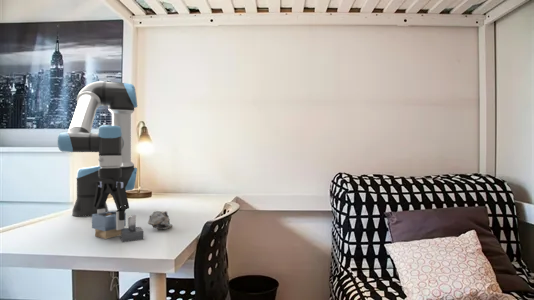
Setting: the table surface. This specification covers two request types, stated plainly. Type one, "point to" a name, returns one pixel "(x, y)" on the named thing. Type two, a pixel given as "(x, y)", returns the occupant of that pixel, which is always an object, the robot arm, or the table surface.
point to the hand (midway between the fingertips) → (110, 227)
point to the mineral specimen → (159, 220)
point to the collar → (105, 221)
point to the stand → (107, 232)
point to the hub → (132, 231)
